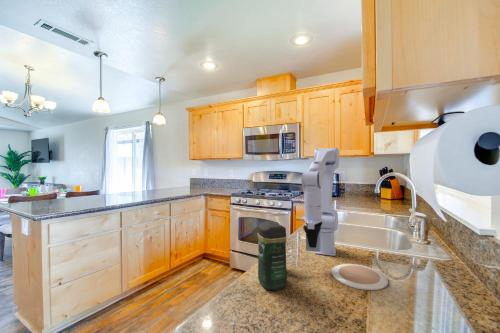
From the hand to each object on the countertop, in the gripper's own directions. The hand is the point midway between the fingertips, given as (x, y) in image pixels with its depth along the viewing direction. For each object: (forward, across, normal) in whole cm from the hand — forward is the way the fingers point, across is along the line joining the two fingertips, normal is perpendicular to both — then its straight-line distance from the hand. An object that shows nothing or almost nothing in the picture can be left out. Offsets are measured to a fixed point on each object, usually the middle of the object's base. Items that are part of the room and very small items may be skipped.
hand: (313, 244), depth 78 cm
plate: (+8, +1, +14) cm, 16 cm away
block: (+2, 0, 0) cm, 2 cm away
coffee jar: (+9, +14, -11) cm, 20 cm away
